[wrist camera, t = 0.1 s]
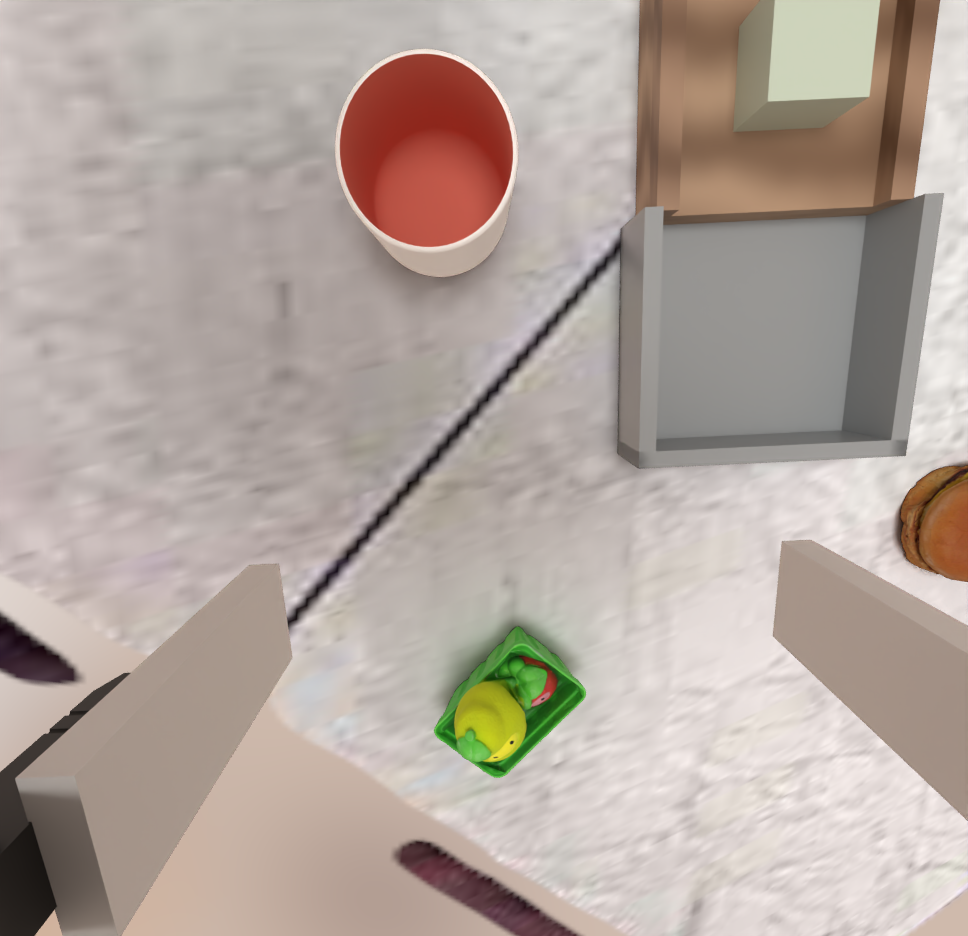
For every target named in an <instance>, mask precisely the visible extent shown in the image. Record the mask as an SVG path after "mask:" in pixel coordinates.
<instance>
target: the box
mask: <svg viewBox="0 0 968 936" xmlns="http://www.w3.org/2000/svg"><path fill="white" fill-rule="evenodd" d="M943 197H944V193H934V194H924V195H921V196H918V197H916V198H913V199H910V200H907V201H905V202H902V203H899V204H896V205H894V206H891V207H888V208H885V209H883V210H880V211H877V212H874V213H872V214H869V215H864V216H843V217H822V218H801V219H779V220H758V221H737V222H716V223H695V224H673V225H663V213H664V206H658V207H645V208H643V209H642V210H641V211H640V212H639V213H638V214H637V215H636V216H635V217H633V218H632V219H631V220H630V221H629V222H628V223H627V224H626V225H625V226H623V227H622V228H621V243H620V314H619V385H618V455H620V456H621V457H623V458H624V459H626V460H627V461H628V462H630V463H631V464H633V465H634V466H636V467H637V468H639V469H642V468H663V467H684V466H705V465H726V464H747V463H767V462H788V461H809V460H830V459H851V458H872V457H893V456H906V450H907V443H908V436H909V429H910V423H911V416H912V409H913V402H914V395H915V388H916V381H917V375H918V368H919V361H920V354H921V347H922V340H923V334H924V327H925V320H926V313H927V306H928V299H929V293H930V286H931V279H932V272H933V265H934V258H935V252H936V245H937V238H938V231H939V224H940V217H941V211H942V204H943Z"/></svg>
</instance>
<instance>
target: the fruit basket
mask: <svg viewBox="0 0 968 936" xmlns="http://www.w3.org/2000/svg"><path fill="white" fill-rule="evenodd" d="M585 696H586V691H585V688H584V687H583V686H582V685H581V683H580V682H579V681H578V680H577V679H576V678H574V677H573V676H572V674H571V673H570V672H569V670H568V669H567V668H566V666H565V665H564V664H563V662H562V661H561V660H560V659H559V657H558V656H557V655H555V654H553V653H550V652H549V651H548V649H547V648H546V647H545V646H544V645H542V644H541V643H540V642H538V641H537V640H536V639H535V638H533V637H532V636H530V635H527V634H525V632H524V631H523V629H522V628H520V627H515V628H514V629H513V630H512V631H511V633H510V634H509V635H508V636H507V637H506V639H505V641H504V642H503V643H501V644H499V645H498V646H497V647H496V648H495V649H494V650H493V651H492V652H491V654H490V655H489V656H488V658H487V660H486V661H484V662H483V663H481V664H480V665H479V666H478V667H477V668H476V669H475V670H474V671H473V672H472V674H471V675H470V677H469V679H467V680H466V681H464V682H463V683H462V684H461V685H460V686H459V687H458V688H457V689H456V690H455V692H454V694H453V696H452V698H451V700H450V702H449V704H448V706H447V708H446V710H445V712H444V714H443V716H442V717H441V718H440V719H439V721H438V723H437V725H436V727H435V729H434V733H435V735H436V736H437V738H439V739H440V740H441V741H443V742H444V743H446V744H447V745H449V746H450V747H451V748H452V749H454V750H455V751H457V752H458V753H459V754H461V755H462V757H463V758H465V759H467V760H469V761H470V762H472V763H473V764H475V765H476V766H477V767H479V768H480V769H482V770H483V771H484V772H486V773H488V774H489V775H491V776H493V777H496V778H500V777H503V776H505V775H506V774H508V773H509V772H510V770H511V769H513V768H514V767H515V766H516V765H517V764H518V763H519V762H520V761H521V760H522V759H523V758H524V757H525V756H526V755H527V754H528V753H529V752H530V751H531V750H532V749H533V748H534V747H535V746H536V745H537V744H538V743H539V742H540V741H541V740H542V739H543V738H544V737H546V736H547V735H548V734H549V733H550V732H551V731H552V730H553V728H555V727H556V726H557V725H558V724H559V723H560V722H561V721H562V720H563V719H564V718H565V717H566V716H567V715H568V714H569V713H570V712H571V711H572V710H573V709H574V708H575V707H577V706H578V705H579V704H580V703H581V702H582V701H583V700H584V698H585Z"/></svg>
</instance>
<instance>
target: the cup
mask: <svg viewBox="0 0 968 936" xmlns="http://www.w3.org/2000/svg"><path fill="white" fill-rule="evenodd" d="M335 157H336V166H337V171H338V176H339V180H340V183H341V186H342V189H343V191H344V194H345V196H346V198H347V200H348V202H349V204H350V205H351V207H352V209H353V210H354V212H355V213H356V215H357V216H358V217H359V218H360V220H361V221H362V222H363V223H364V224H365V226H366V227H367V228H368V229H369V230H370V231H371V233H372V234H373V235H374V236H375V237H376V238H377V240H378V241H379V242H380V243H381V244H382V245H383V247H384V248H385V249H386V250H387V251H388V252H389V253H390V255H391V256H392V257H393V258H394V259H396V260H397V261H398V262H399V263H401V264H402V265H403V266H405V267H407V268H408V269H410V270H412V271H414V272H417V273H419V274H423V275H427V276H433V277H448V276H454V275H458V274H461V273H464V272H467V271H468V270H470V269H472V268H474V267H476V266H477V265H478V264H480V263H481V262H482V261H483V260H485V259H486V258H487V257H488V256H489V254H490V253H491V252H492V251H493V250H494V248H495V247H496V245H497V244H498V242H499V240H500V238H501V236H502V234H503V231H504V229H505V226H506V222H507V218H508V213H509V208H510V203H511V199H512V194H513V189H514V184H515V180H516V175H517V168H518V140H517V133H516V129H515V125H514V121H513V118H512V115H511V113H510V110H509V108H508V106H507V104H506V102H505V100H504V98H503V96H502V95H501V93H500V91H499V90H498V89H497V87H496V86H495V85H494V83H493V82H492V81H491V80H490V79H489V78H488V77H487V76H486V75H485V74H484V73H483V72H482V71H481V70H480V69H478V68H477V67H476V66H475V65H473V64H472V63H470V62H469V61H467V60H465V59H463V58H461V57H459V56H457V55H454V54H451V53H448V52H444V51H441V50H434V49H414V50H407V51H403V52H399V53H397V54H394V55H392V56H389V57H387V58H385V59H384V60H382V61H380V62H378V63H377V64H376V65H374V66H373V67H372V68H370V69H369V70H368V71H367V72H366V73H365V74H364V75H363V76H362V77H361V78H360V79H359V81H358V82H357V83H356V84H355V86H354V87H353V89H352V90H351V92H350V93H349V95H348V97H347V99H346V101H345V103H344V105H343V108H342V111H341V114H340V117H339V120H338V125H337V130H336V138H335Z"/></svg>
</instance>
